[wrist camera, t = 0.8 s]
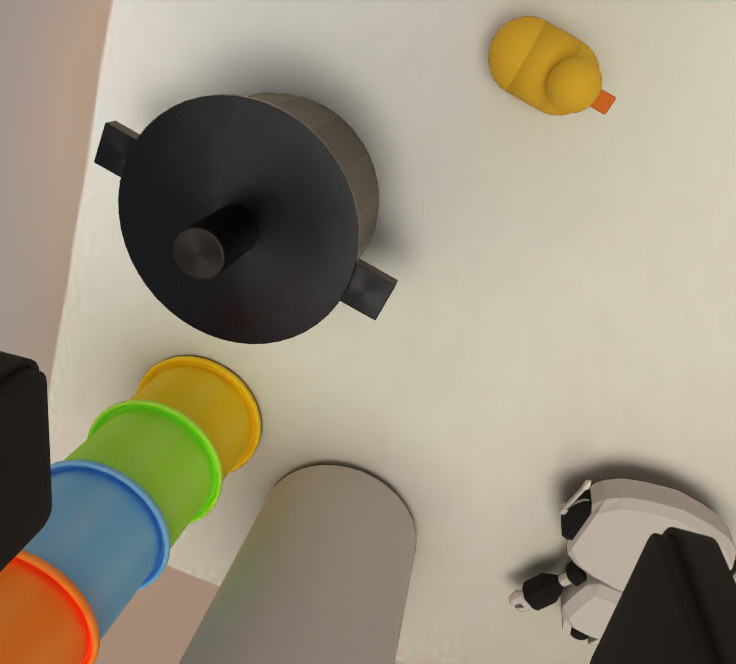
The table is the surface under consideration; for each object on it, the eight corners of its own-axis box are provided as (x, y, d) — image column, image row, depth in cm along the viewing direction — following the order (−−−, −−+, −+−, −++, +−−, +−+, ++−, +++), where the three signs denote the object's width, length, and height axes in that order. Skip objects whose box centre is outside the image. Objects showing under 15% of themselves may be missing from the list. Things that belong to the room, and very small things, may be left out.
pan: (195, 32, 39) (124, 29, 31) (452, 179, 39) (440, 209, 32) (136, 209, 44) (63, 241, 37) (361, 336, 45) (334, 392, 38)
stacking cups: (114, 395, 51) (-494, 937, 20) (200, 329, 47) (-397, 881, 16) (200, 487, 53) (-229, 1107, 22) (289, 432, 49) (-84, 1094, 18)
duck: (476, 71, 36) (471, 76, 31) (513, 4, 35) (514, -3, 29) (578, 130, 37) (590, 145, 31) (619, 66, 35) (640, 70, 30)
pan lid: (172, 42, 32) (110, 42, 27) (408, 177, 32) (389, 201, 27) (101, 264, 38) (39, 298, 33) (300, 375, 38) (269, 425, 33)
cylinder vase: (241, 530, 54) (54, 872, 32) (312, 431, 49) (145, 760, 26) (365, 607, 55) (268, 993, 33) (448, 518, 49) (399, 910, 27)
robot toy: (644, 632, 51) (758, 505, 44) (653, 685, 47) (780, 556, 40) (499, 573, 52) (587, 438, 44) (497, 621, 48) (592, 482, 40)
